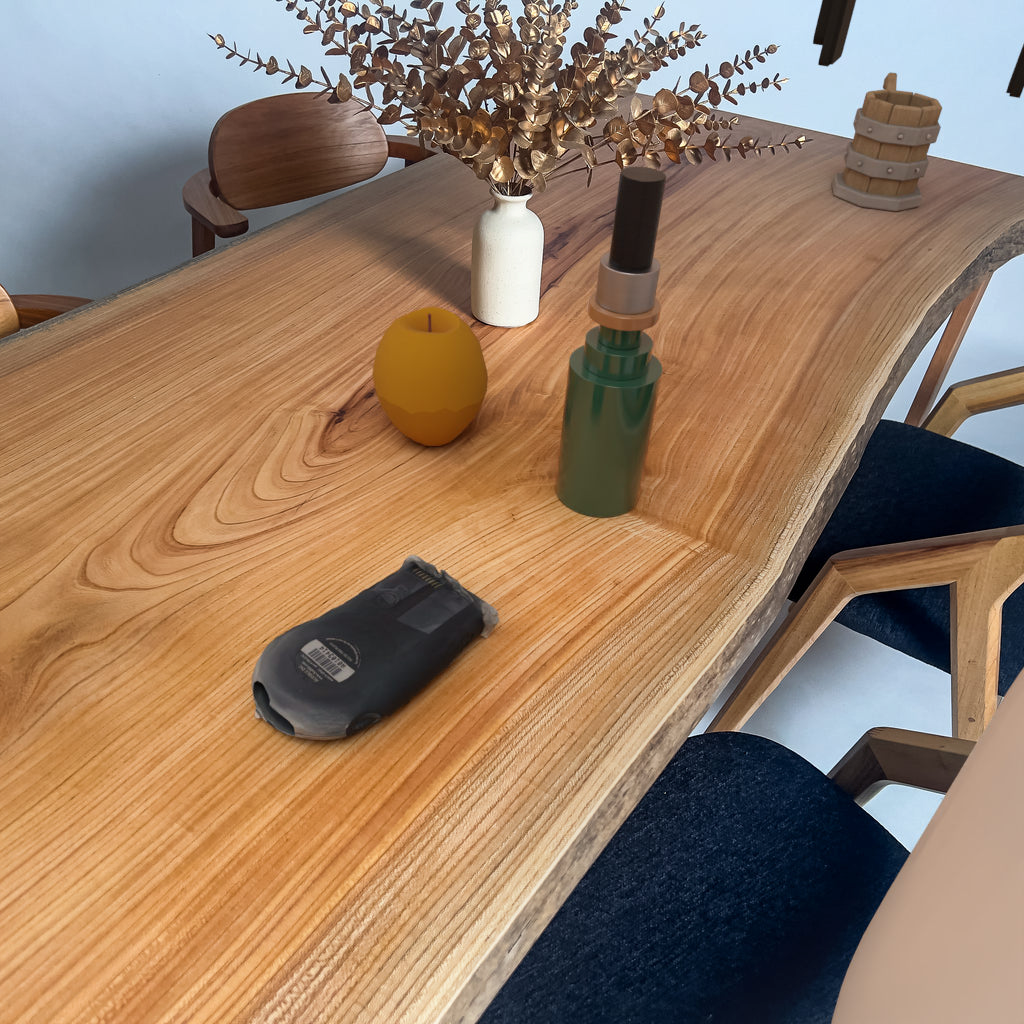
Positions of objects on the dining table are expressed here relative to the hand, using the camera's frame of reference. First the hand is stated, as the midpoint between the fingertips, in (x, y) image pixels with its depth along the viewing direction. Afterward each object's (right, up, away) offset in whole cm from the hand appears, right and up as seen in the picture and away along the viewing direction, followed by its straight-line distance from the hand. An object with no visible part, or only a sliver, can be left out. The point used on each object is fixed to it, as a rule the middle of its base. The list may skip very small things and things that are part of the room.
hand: (918, 76), depth 49 cm
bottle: (-15, -22, +26) cm, 37 cm away
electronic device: (-31, -34, +10) cm, 47 cm away
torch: (-14, -8, +16) cm, 23 cm away
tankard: (+34, +27, +93) cm, 102 cm away
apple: (-29, -17, +32) cm, 46 cm away
